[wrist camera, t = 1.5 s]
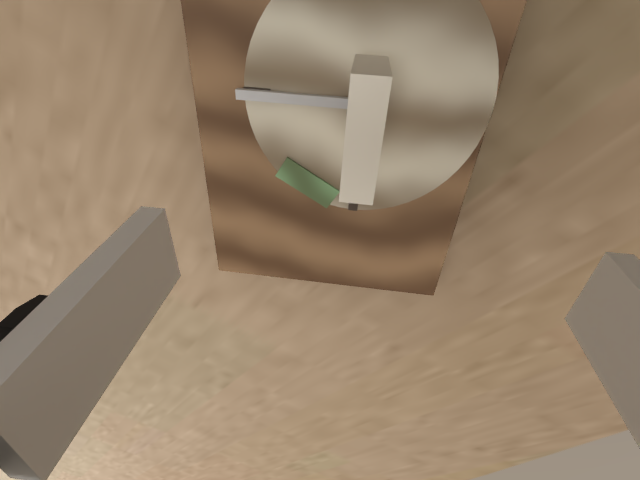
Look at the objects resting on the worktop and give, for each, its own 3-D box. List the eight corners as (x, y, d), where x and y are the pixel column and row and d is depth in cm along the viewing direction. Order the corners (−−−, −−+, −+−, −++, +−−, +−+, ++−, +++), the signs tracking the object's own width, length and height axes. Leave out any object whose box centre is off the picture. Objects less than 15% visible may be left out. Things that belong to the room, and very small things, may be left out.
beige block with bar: (235, 38, 25) (180, 60, 18) (389, 49, 24) (396, 76, 17) (242, 137, 29) (200, 187, 22) (375, 150, 28) (376, 205, 21)
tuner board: (176, -129, 22) (158, -140, 20) (550, -112, 21) (568, -122, 19) (225, 258, 40) (217, 272, 38) (430, 282, 38) (433, 298, 36)
